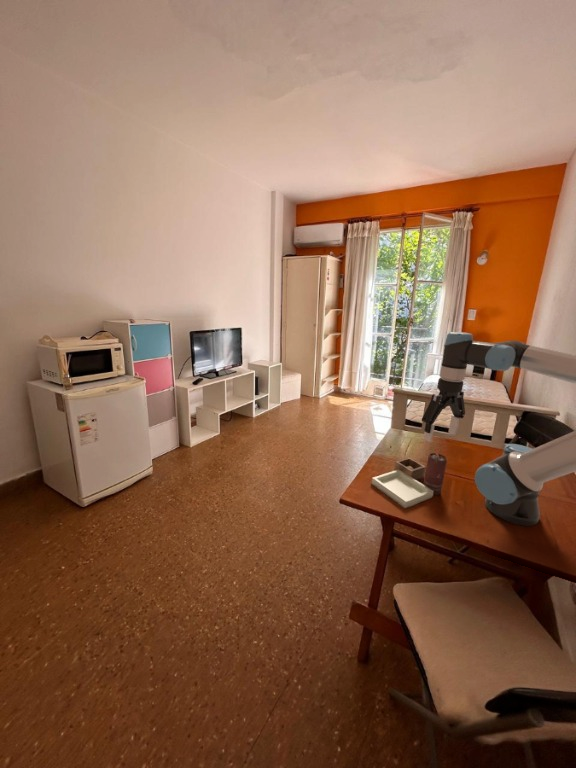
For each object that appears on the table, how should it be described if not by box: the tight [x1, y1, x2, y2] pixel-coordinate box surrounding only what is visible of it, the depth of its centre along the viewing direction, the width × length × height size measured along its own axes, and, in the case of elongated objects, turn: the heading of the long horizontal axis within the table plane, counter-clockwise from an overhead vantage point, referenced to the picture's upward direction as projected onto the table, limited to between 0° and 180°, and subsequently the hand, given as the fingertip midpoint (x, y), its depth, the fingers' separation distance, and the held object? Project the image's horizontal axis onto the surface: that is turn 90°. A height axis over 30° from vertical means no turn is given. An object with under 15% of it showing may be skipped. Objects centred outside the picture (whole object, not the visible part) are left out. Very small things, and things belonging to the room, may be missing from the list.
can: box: [422, 452, 448, 496], centre depth 116 cm, size 6×6×14 cm
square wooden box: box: [393, 457, 427, 481], centre depth 126 cm, size 8×8×5 cm
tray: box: [371, 469, 434, 509], centre depth 116 cm, size 16×14×3 cm
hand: (440, 437), depth 112 cm, fingers open, 13 cm apart
